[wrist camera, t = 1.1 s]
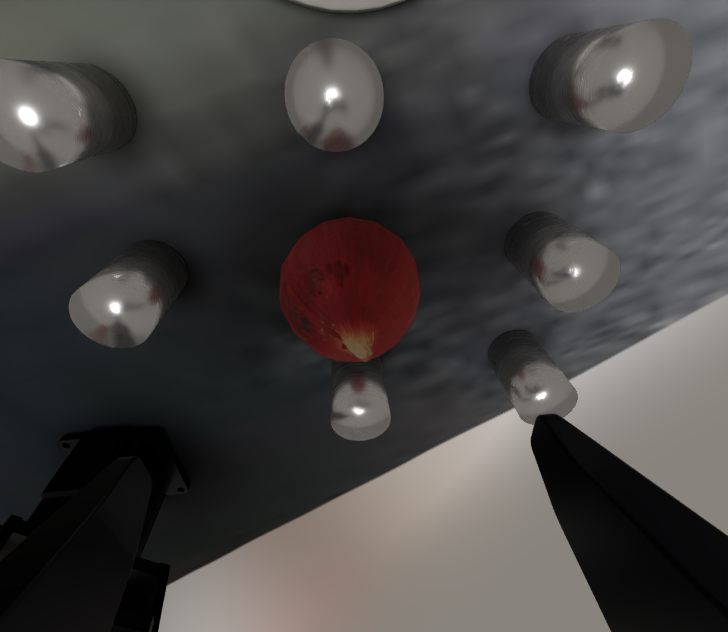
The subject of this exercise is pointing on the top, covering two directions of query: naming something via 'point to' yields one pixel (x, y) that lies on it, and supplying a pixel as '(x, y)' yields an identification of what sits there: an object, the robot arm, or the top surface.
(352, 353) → the onion
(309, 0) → the plate
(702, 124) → the top surface
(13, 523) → the robot arm
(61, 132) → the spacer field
